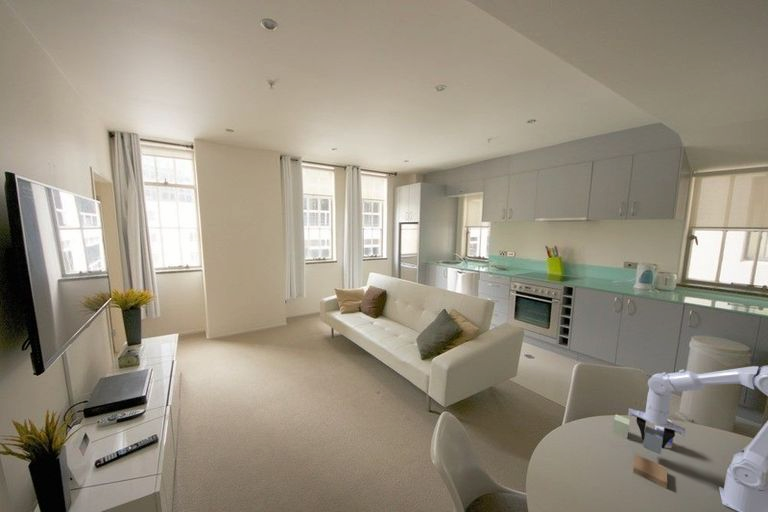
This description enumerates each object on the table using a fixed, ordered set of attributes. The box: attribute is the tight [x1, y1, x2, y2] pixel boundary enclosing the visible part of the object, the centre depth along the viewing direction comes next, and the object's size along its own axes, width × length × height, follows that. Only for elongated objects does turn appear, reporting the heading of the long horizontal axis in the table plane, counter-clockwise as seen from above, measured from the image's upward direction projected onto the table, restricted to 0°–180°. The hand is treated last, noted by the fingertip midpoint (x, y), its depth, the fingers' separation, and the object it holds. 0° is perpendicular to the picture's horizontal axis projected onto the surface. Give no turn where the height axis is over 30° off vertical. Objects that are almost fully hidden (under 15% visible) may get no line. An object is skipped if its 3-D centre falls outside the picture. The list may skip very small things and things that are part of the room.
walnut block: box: [632, 453, 668, 489], centre depth 94 cm, size 8×8×2 cm
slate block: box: [642, 425, 663, 455], centre depth 99 cm, size 4×4×6 cm
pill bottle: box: [653, 418, 674, 449], centre depth 107 cm, size 5×5×10 cm
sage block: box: [612, 413, 631, 440], centre depth 112 cm, size 4×4×6 cm
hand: (652, 442), depth 99 cm, fingers closed on slate block, 4 cm apart
